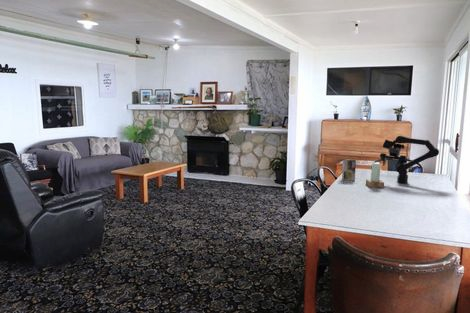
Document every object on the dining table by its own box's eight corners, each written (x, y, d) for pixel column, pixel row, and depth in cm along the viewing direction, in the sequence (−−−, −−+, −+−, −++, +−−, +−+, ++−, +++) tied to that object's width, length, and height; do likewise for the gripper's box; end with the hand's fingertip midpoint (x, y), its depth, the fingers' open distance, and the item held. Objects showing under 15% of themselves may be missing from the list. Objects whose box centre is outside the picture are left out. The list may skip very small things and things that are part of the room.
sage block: (373, 180, 272) (374, 162, 270) (379, 181, 269) (380, 163, 267) (370, 180, 269) (371, 163, 267) (376, 181, 266) (377, 164, 264)
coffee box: (353, 179, 295) (354, 159, 293) (355, 180, 289) (356, 160, 287) (341, 178, 296) (342, 158, 294) (343, 180, 290) (344, 160, 287)
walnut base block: (379, 185, 274) (379, 179, 274) (383, 188, 264) (384, 182, 264) (365, 184, 275) (366, 179, 274) (369, 187, 265) (369, 182, 265)
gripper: (381, 142, 283) (375, 158, 277) (407, 145, 271) (400, 161, 265) (384, 151, 290) (378, 167, 284) (409, 154, 278) (403, 170, 272)
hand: (389, 166), depth 276 cm, fingers open, 9 cm apart
